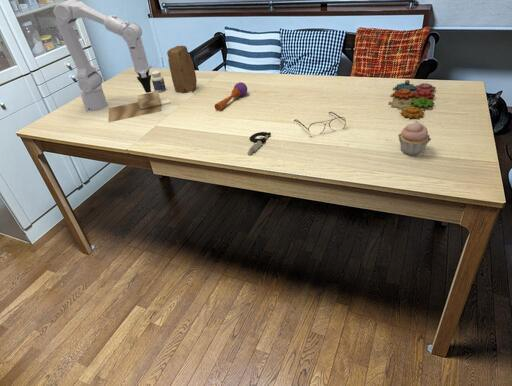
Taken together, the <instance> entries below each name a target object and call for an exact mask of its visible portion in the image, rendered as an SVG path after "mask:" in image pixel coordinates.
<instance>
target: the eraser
mask: <svg viewBox="0 0 512 386" xmlns="http://www.w3.org/2000/svg"><path fill="white" fill-rule="evenodd" d="M160 100H161V99H160ZM161 104H162V106H165V105H170V104H171V99H170V98H167V99H163V100H161Z"/></svg>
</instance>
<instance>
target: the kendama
mask: <svg viewBox="0 0 512 386" xmlns="http://www.w3.org/2000/svg"><path fill="white" fill-rule="evenodd" d="M247 93H248V87H247V85H246V83H244V82H241V81H239V82H237V83H236V84H235V85H234V87H233V88H232V90H231V94H230V96H227V97H226V98H224V99H222V100H220V101H218V102H217V103H215V104H214V109H215V110H216V111H219V112H221V111H222V110H223V108H225V106H226V105H227V104H228V103H229V102H230V101H231V100H232V99H233V98H239V97H243V96H245V95H246V94H247Z"/></svg>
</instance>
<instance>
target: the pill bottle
mask: <svg viewBox="0 0 512 386" xmlns="http://www.w3.org/2000/svg"><path fill="white" fill-rule="evenodd" d="M151 82H152V86H153V89H154V92H156V91H158V93H164V92H166V91H167V88H166V83H165V79H164V76H163V75H161V71H160V70H154V71H152V72H151Z"/></svg>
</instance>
